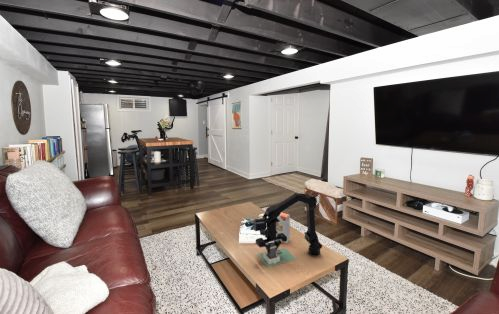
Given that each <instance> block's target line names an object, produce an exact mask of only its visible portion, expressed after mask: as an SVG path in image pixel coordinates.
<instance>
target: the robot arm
mask: <svg viewBox="0 0 499 314" xmlns="http://www.w3.org/2000/svg"><path fill="white" fill-rule="evenodd" d="M298 202H301V203H304V206H305V208H306V222H307V231H304V233H303V234H304V239H305V240H306V242H307V243H308V244H309V245H308V255H310V256H315V257H316V256H319V255H320V254H321V249H322V248H323V244H321V242H320V241H319V237H318V234H317V231H316V217H315V216H316V215H315V213H316V212H315V210H316V207H317V203H318V199H317V198H316V197H315V196H314V195H312V194H311V193H306V194H305V193H299V192H294V193H293V194H292V195H290V196H289V197H287V198H285V199H284V200H283V201H281V202H280V203H278V204H275V205H274V204H273V205H270V206H269V207H267V208H266V209H265V212H264V213H263V215H262V218H254V222H253V228H254V232H259V235H260V236H264V238H266V239H264V238H263V237H259V238H256V239H255V244H256V245H257V247H259V248H265V250H266V253H268V254H269V252H270V245H269V244H268V243H271V242H273V243H274V244H275V245H276V251H277V250H278V249H279V247H280V245H281V244H283V243H282V242H281V239H282V241H283V242H284V241H287V236H286V235H284V234H283V233H280V234H277V236H276V233H277V231H276V222H280V220H279V219H278V218H277V217H278V216H279V215H280V214H281V212H282V213H283V212H284V211H285V210H286V209H289V208H290V207H292V206H293V205H294V204H296V203H298Z"/></svg>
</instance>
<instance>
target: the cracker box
mask: <svg viewBox="0 0 499 314" xmlns="http://www.w3.org/2000/svg"><path fill="white" fill-rule="evenodd" d="M277 218H278V219H279V220H280V222H276V231H277V233H276V236H277V234H280V233H283V234H284V235H286V236H287V241H284V242H283V241H282V239H281V242H282V243H281V244H285V245H287V244H288V243H289V242H290V238H291V237H290V235H291V231H290V230H291V228H290V227H291V215H290V214H289V213H285V212H283V211H282V212H281V214H280V215H279V216H278V217H277Z"/></svg>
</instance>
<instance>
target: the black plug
mask: <svg viewBox="0 0 499 314" xmlns="http://www.w3.org/2000/svg"><path fill="white" fill-rule="evenodd" d="M268 244H269V245H270V252H269V254H268V253H267V252H266V253H267V256H268V257H269V258H270V259H272V258H276V245H275V244H274V241H272V242H269V243H268Z"/></svg>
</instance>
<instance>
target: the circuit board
mask: <svg viewBox="0 0 499 314" xmlns="http://www.w3.org/2000/svg"><path fill="white" fill-rule="evenodd" d="M257 257H258V258H259V259H260V261H261V262H262V263H263V264H264V265H265V267H266V268H270V267H274V266H277V265H280V264H284V263H289V262H292V261H295V260H297V258H296V257H295V256H294V255H293V254H292V253H291V252H290V251H289V250H288V249H287V248H285V247H283V248H278V249H277V251H276V258H272V259H270V258H269V257H268V256H267V252H263V253H259V254H257Z"/></svg>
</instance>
